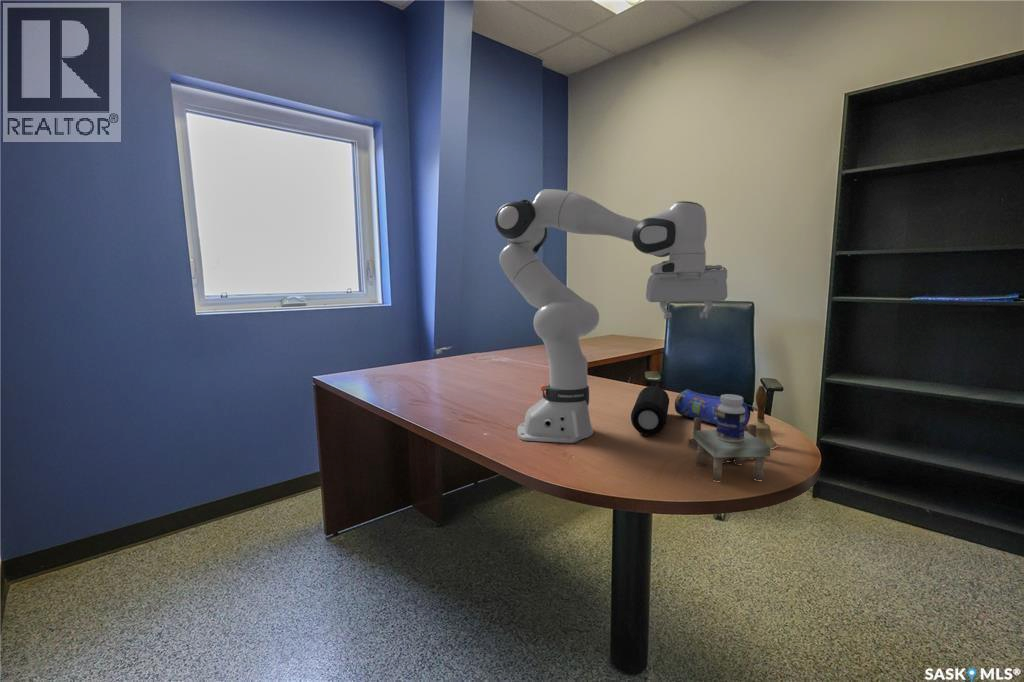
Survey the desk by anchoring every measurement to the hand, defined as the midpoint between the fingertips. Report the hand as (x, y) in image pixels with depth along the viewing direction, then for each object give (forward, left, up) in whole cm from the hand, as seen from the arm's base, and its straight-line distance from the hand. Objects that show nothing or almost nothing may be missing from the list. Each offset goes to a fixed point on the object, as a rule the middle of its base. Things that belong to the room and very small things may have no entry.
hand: (685, 318), depth 118 cm
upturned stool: (+8, -7, -34) cm, 36 cm away
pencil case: (+15, +17, -34) cm, 41 cm away
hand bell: (+20, -2, -34) cm, 40 cm away
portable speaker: (-4, +16, -34) cm, 38 cm away
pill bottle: (+4, -19, -26) cm, 33 cm away
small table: (+4, -19, -34) cm, 39 cm away
